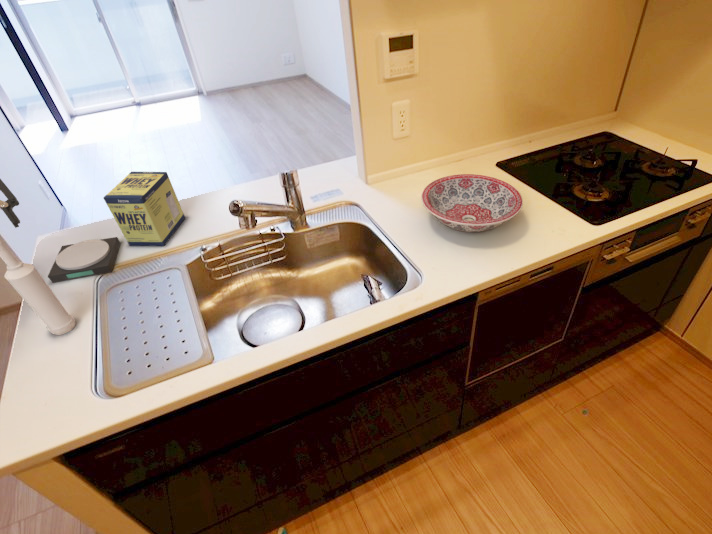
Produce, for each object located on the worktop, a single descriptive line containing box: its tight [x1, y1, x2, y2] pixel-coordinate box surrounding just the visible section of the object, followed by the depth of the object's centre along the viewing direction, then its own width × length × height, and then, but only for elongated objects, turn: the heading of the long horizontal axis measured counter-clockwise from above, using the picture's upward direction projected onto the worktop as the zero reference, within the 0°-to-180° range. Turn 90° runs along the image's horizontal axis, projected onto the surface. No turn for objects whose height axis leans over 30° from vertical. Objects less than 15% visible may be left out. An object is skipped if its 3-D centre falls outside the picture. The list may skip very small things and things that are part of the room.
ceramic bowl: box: [421, 173, 524, 233], centre depth 126 cm, size 29×29×8 cm
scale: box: [47, 236, 121, 284], centre depth 115 cm, size 14×14×3 cm
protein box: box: [103, 171, 186, 247], centre depth 121 cm, size 10×16×16 cm
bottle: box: [0, 237, 76, 336], centre depth 89 cm, size 5×5×25 cm
